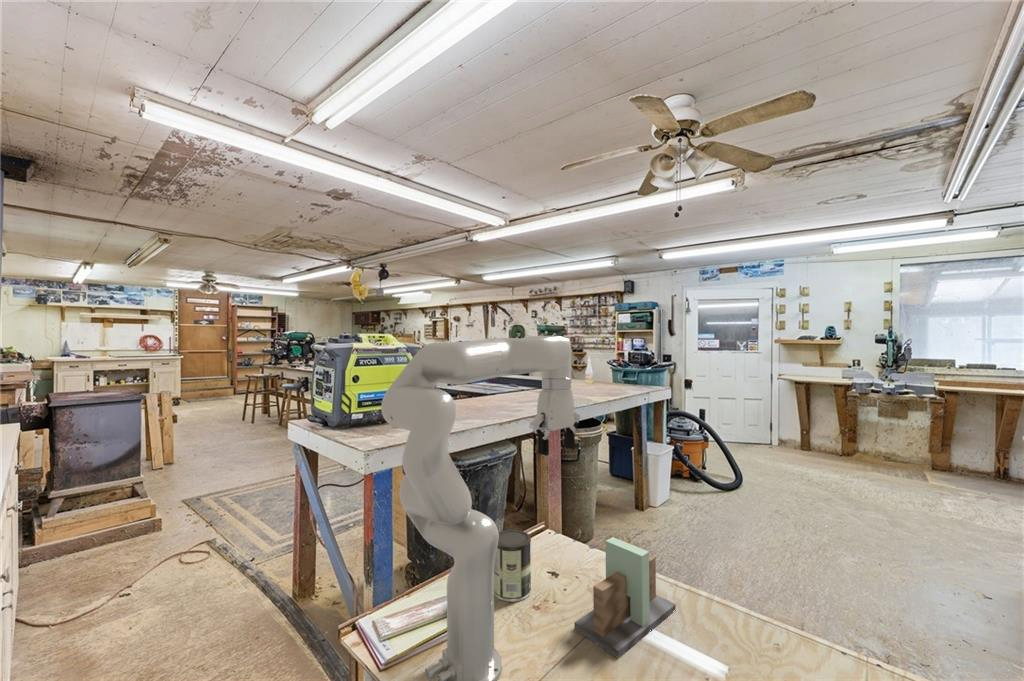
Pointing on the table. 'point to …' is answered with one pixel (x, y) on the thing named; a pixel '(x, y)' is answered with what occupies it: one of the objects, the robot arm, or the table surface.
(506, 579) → the coffee can
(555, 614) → the table surface
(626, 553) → the green slat
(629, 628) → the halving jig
